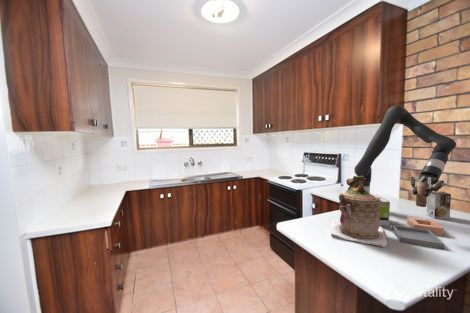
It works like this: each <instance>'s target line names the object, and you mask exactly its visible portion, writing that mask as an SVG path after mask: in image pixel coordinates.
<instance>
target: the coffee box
mask: <svg viewBox="0 0 470 313" xmlns="http://www.w3.org/2000/svg"><path fill="white" fill-rule="evenodd" d="M451 198H452V194H451V193H450V192H445V191H436V192H435V191H432V192H431V193H430V195H429V196H427V204H426V216H427V217H429V218H432V219H436V220H437V219H440V220H449V219H450V218H451V216H450V215H451V203H452V201H451V200H452V199H451Z"/></svg>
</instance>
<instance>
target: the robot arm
mask: <svg viewBox="0 0 470 313" xmlns="http://www.w3.org/2000/svg"><path fill="white" fill-rule="evenodd" d="M397 123H400V124H401V125H403V126H405V127H406V128H408V129H409V130H410V131H411V132H412V133H413V135H415V136H416V137H417V138H419V139H420V140H422V141H423V142H425V143H426V144H431V143H435V146H434V147H433V149H432V152H431V155H430V156H429V158H428V160H427V161H426V163H425V164H424V166H423V168H422V170H421V171H420V174H419V175H418V176H416V177H415V176H410V185H411V187H412V188H413V189H412V194H413V195H414V196H416V194H417V182H425V183H428V188H427V189H426V191H425V193H424V196H425V197H428V196H429V195H430V193H431V192H439V190H441V188H443V187H444V186H445V185H446V182H445V180H443V179H442V180H440V177H441V176H442V175H443V172H444V170H445V167H446V164H447V162H448V160H449V155H450V154H451V153H452V151H453V150H455V149H456V147H457V143H456V141H455V140H454V139H453V138H451V137H449V136H446V135H444V134H441V133H439V132H436V131H435V130H434V129H432V128H431V127H429V126H428V125H426V124H424V123H423V122H421V121H420V120H418V119H417V118H415V117H414V116H413V114H411V113H410V112H409V111H408V110H407V108H405V107H403V106H400V105H397V104H396V105H393V106H391V107H388V110H386V112H385V114H384V117H383V120H382V121H381V124H380V125H379V126H378V128H377V130H376V131H375V134H374V136H372V139H371V140H370V142H369V144H368V145H367V148H366V149H365V152H364V154H363V155H362V157H361V158H360V160H359V161H358V163H357V164H356V165H355V167H354V174H355V176H359V177H360V176H364V178H366V180H365V181H364V185H363V186H364V190H365V191H367V192H368V193H369V194H371V190H370V189H371V183H372V182H371V181H372V170H373V169H372V165H373V163H374V162H375V160H376V159H378V157H379V156H380V155H381V153H383V151H384V150H385V148H386V147H387V145H388V144H389V142H390V138H391V136H392V135H391V134H392V131H393V128H394V126H395V125H396V124H397Z"/></svg>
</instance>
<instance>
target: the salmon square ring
mask: <svg viewBox="0 0 470 313" xmlns="http://www.w3.org/2000/svg"><path fill="white" fill-rule="evenodd" d="M406 224H407V225H408V227H411V228H418V229H426V230H430V231H431V232H432V233H433V234H434V235H435V236H441V237H443V236H444V233H445V228H444V227H443V226H442V225H440V224H439V223H438V222H437V221H435V220H433V219H428V218H427V219H425V218H418V217H417V218H416V217H410V216H409V217H408V216H407V217H406Z"/></svg>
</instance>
